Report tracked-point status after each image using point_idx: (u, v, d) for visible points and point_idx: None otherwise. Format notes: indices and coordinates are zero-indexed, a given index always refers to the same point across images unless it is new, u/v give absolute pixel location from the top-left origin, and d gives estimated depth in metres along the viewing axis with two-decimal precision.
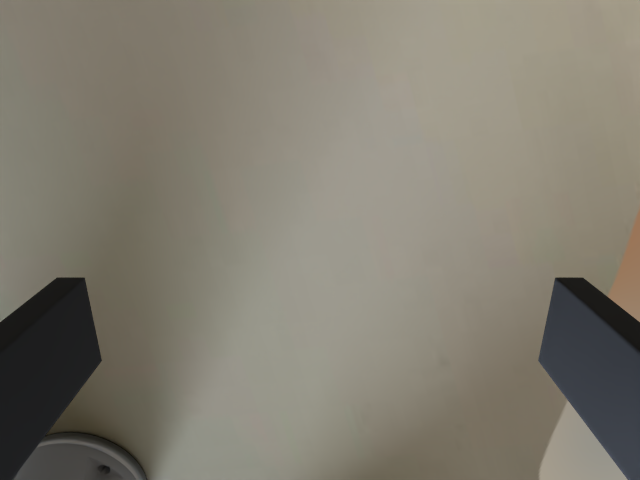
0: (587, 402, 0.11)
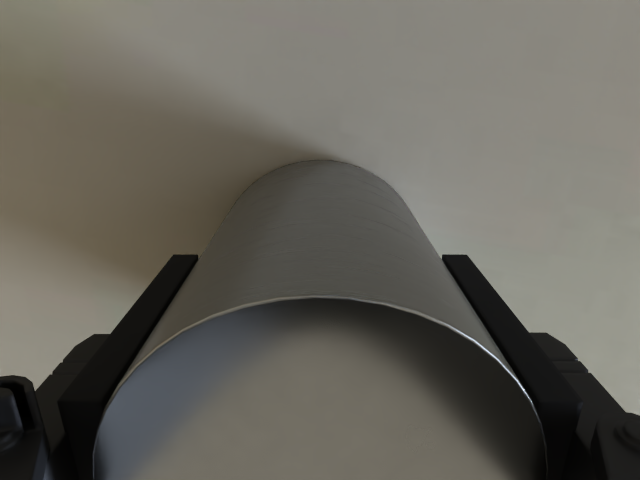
0: None
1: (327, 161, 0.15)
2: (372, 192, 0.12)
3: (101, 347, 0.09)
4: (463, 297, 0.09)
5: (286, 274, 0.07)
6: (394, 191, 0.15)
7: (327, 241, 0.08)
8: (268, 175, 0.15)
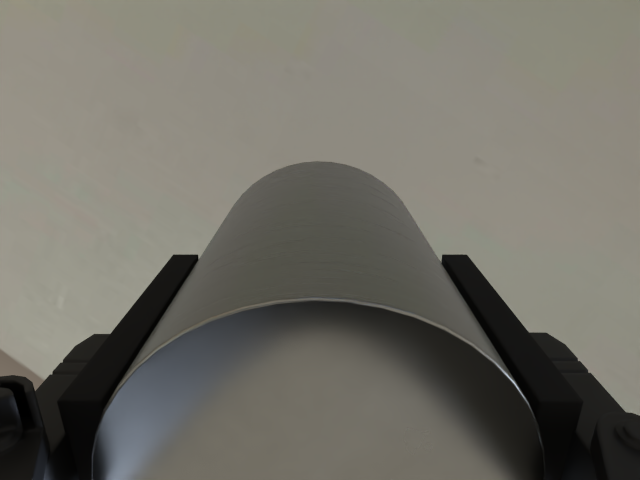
0: None
1: (326, 162, 0.15)
2: (371, 194, 0.12)
3: (101, 347, 0.09)
4: (461, 299, 0.09)
5: (284, 276, 0.07)
6: (393, 193, 0.15)
7: (326, 243, 0.08)
8: (267, 176, 0.15)
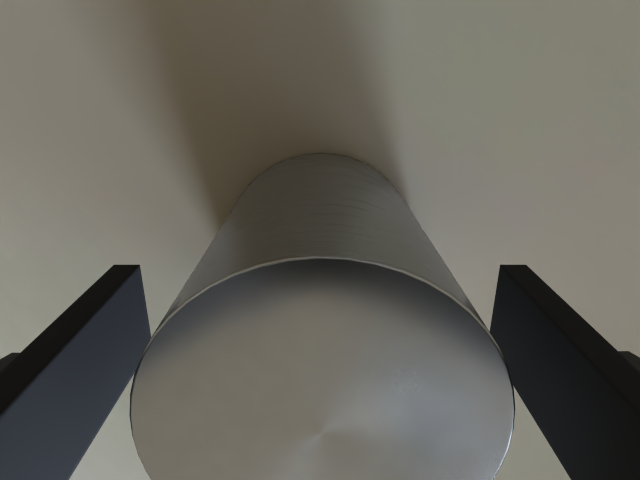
0: (523, 379, 0.12)
1: (327, 154, 0.17)
2: (368, 181, 0.14)
3: (3, 371, 0.08)
4: (446, 268, 0.10)
5: (293, 241, 0.08)
6: (389, 182, 0.17)
7: (328, 218, 0.09)
8: (273, 167, 0.16)
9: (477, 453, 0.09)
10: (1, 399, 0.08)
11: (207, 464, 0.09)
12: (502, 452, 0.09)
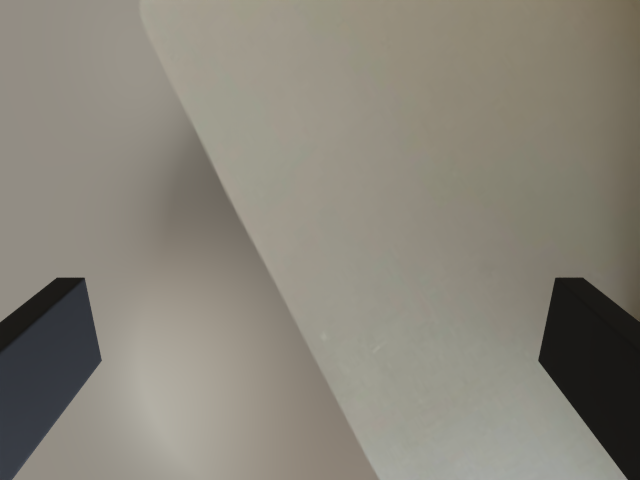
0: (587, 402, 0.11)
1: None
2: None
3: None
4: None
5: None
6: None
7: None
8: None
9: None
10: None
11: None
12: None
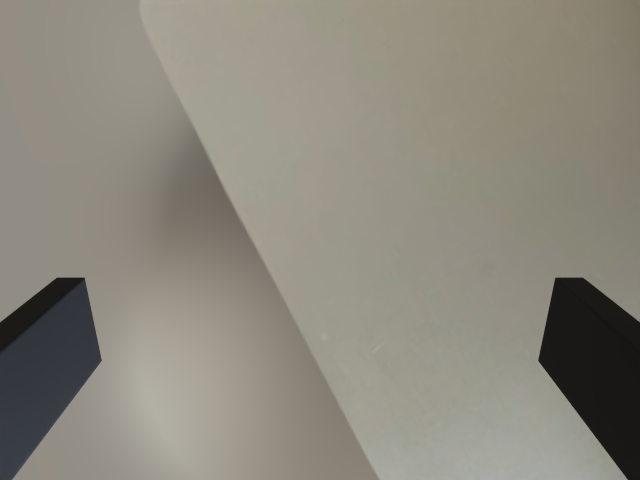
0: (587, 402, 0.11)
1: None
2: None
3: None
4: None
5: None
6: None
7: None
8: None
9: None
10: None
11: None
12: None
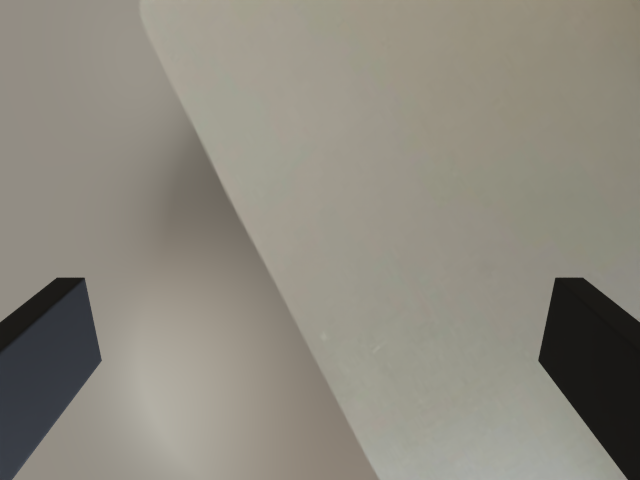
0: (587, 402, 0.11)
1: None
2: None
3: None
4: None
5: None
6: None
7: None
8: None
9: None
10: None
11: None
12: None
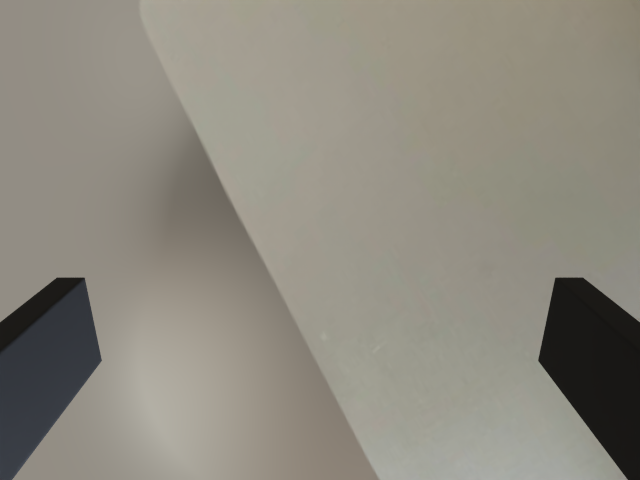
0: (587, 402, 0.11)
1: None
2: None
3: None
4: None
5: None
6: None
7: None
8: None
9: None
10: None
11: None
12: None
